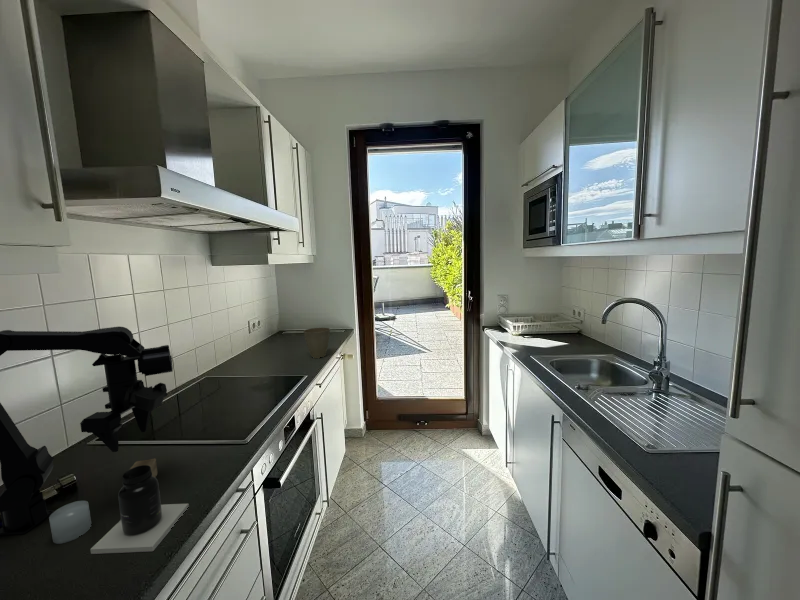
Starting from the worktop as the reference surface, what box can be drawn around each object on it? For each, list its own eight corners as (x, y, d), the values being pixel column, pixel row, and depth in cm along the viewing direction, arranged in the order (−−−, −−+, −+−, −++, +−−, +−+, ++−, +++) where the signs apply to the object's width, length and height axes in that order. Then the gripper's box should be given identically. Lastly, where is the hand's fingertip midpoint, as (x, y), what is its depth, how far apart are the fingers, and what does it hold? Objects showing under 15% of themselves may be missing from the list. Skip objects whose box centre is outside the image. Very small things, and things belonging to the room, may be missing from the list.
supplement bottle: (115, 539, 70) (107, 484, 68) (134, 515, 77) (127, 464, 75) (152, 533, 71) (145, 479, 70) (168, 510, 78) (162, 460, 76)
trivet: (91, 553, 68) (90, 549, 68) (136, 509, 80) (135, 505, 80) (153, 551, 68) (152, 546, 68) (189, 507, 80) (188, 503, 80)
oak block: (130, 488, 88) (127, 471, 87) (138, 477, 92) (136, 461, 92) (150, 484, 89) (148, 467, 88) (157, 474, 93) (155, 458, 93)
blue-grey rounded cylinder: (44, 544, 71) (40, 521, 70) (71, 522, 77) (68, 501, 76) (73, 543, 71) (70, 520, 70) (99, 521, 77) (95, 500, 76)
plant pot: (334, 353, 208) (332, 327, 207) (327, 360, 194) (326, 332, 192) (309, 353, 209) (307, 327, 207) (301, 360, 194) (299, 332, 192)
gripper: (126, 393, 74) (135, 462, 76) (179, 366, 92) (186, 422, 94) (73, 395, 74) (83, 464, 76) (137, 367, 92) (144, 423, 94)
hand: (130, 441), depth 85 cm, fingers open, 9 cm apart
